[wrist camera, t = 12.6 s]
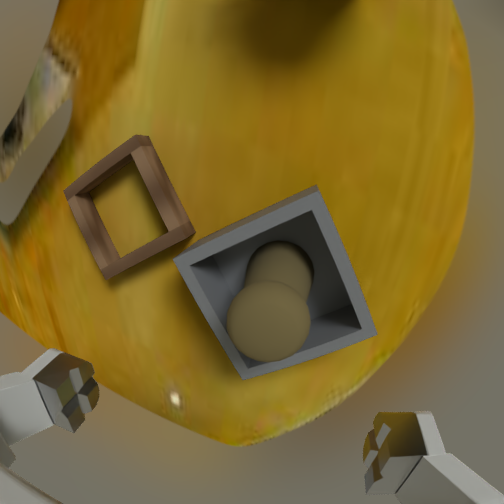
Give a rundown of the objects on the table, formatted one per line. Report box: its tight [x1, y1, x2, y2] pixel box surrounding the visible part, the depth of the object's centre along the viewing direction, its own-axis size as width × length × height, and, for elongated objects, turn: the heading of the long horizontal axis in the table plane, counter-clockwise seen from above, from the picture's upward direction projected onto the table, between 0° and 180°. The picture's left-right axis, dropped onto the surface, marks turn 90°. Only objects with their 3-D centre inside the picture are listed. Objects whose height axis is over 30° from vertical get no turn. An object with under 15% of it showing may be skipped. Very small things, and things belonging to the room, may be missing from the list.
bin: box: [173, 185, 377, 380], centre depth 27 cm, size 12×12×6 cm
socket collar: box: [64, 135, 195, 280], centre depth 29 cm, size 10×10×2 cm
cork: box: [227, 240, 314, 362], centre depth 23 cm, size 6×6×11 cm
